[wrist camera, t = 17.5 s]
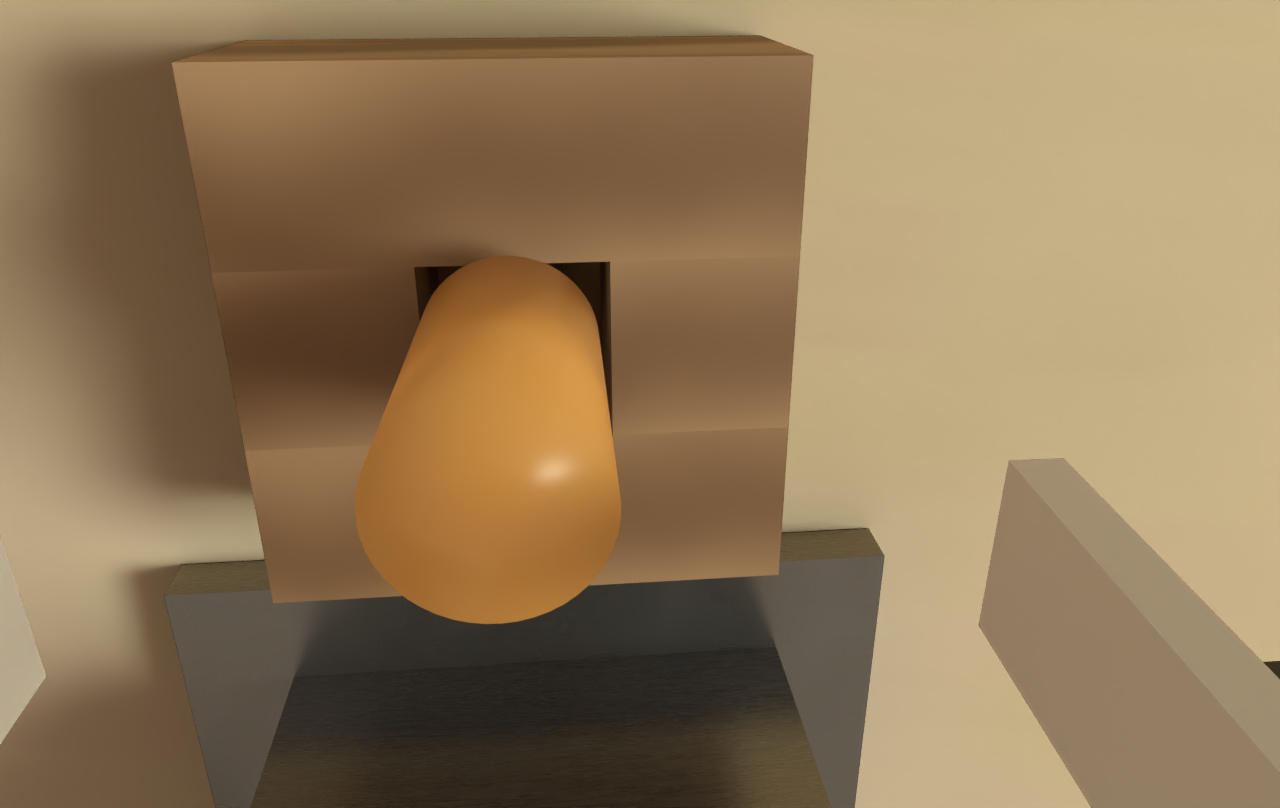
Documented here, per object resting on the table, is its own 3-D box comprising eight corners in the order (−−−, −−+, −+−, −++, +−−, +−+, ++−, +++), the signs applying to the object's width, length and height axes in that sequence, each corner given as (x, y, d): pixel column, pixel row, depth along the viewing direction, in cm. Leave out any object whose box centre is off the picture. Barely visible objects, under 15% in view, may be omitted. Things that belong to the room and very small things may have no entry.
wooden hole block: (244, 40, 23) (171, 62, 18) (760, 35, 24) (813, 55, 19) (316, 496, 28) (273, 603, 23) (740, 476, 29) (778, 574, 24)
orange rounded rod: (436, 207, 24) (334, 400, 13) (586, 199, 24) (615, 383, 13) (453, 349, 25) (374, 634, 14) (594, 340, 25) (626, 613, 14)
